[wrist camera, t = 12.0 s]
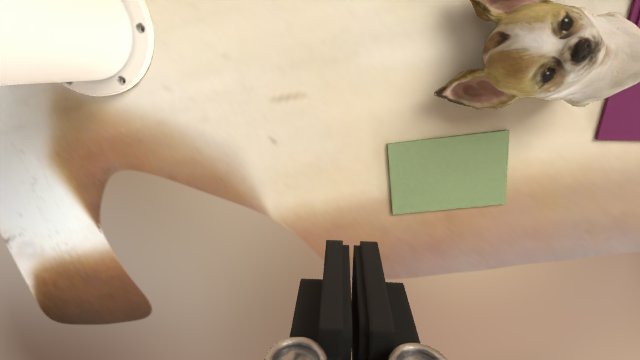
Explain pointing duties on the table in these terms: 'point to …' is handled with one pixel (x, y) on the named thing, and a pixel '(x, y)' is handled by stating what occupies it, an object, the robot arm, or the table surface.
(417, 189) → the sage cloth
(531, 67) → the ceramic sculpture
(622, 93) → the plum cloth
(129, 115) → the table surface
